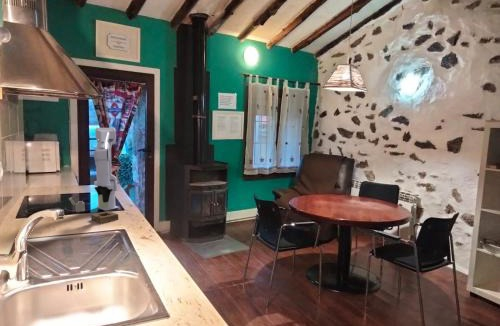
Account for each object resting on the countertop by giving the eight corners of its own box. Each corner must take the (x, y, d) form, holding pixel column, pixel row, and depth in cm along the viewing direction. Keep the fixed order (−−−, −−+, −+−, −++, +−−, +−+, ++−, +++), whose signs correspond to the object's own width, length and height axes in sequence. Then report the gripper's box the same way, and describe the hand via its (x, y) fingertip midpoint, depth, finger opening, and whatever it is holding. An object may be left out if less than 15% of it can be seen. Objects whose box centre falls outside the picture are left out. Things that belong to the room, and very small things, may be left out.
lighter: (84, 210, 179) (83, 195, 178) (85, 210, 178) (84, 196, 176) (69, 212, 174) (68, 197, 173) (70, 213, 173) (69, 198, 172)
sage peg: (99, 206, 162) (99, 194, 161) (105, 205, 164) (104, 193, 164) (102, 207, 161) (102, 195, 160) (108, 206, 163) (107, 194, 162)
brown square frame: (91, 219, 163) (91, 214, 162) (108, 215, 170) (108, 210, 170) (100, 223, 157) (100, 218, 157) (118, 219, 164) (118, 214, 164)
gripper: (87, 173, 162) (88, 200, 164) (102, 177, 153) (103, 205, 155) (101, 171, 167) (102, 197, 169) (116, 175, 158) (118, 202, 160)
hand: (104, 201), depth 162 cm, fingers closed on sage peg, 3 cm apart
